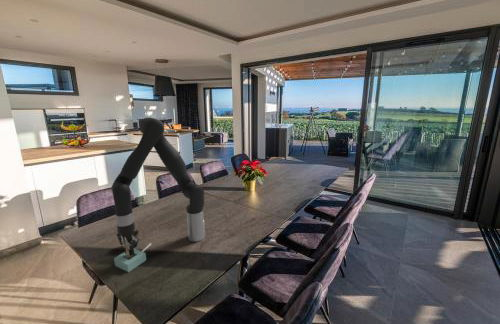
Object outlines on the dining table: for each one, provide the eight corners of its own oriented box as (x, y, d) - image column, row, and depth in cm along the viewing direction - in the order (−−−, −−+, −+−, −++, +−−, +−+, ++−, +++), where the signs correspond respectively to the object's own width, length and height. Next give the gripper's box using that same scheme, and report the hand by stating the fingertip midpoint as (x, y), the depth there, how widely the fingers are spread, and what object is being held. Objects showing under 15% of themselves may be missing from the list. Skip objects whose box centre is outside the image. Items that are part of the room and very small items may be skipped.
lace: (150, 244, 132) (150, 243, 132) (151, 244, 132) (151, 243, 132) (138, 254, 123) (138, 253, 123) (139, 255, 123) (139, 254, 123)
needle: (131, 257, 118) (127, 235, 115) (134, 258, 117) (131, 236, 114) (126, 260, 116) (123, 237, 113) (129, 261, 114) (126, 239, 111)
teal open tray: (133, 254, 123) (132, 247, 122) (146, 260, 119) (145, 253, 118) (114, 265, 114) (113, 258, 114) (128, 272, 110) (127, 264, 109)
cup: (142, 243, 133) (141, 230, 131) (133, 250, 126) (132, 237, 124) (131, 241, 135) (129, 228, 133) (122, 248, 128) (120, 235, 126)
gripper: (142, 221, 112) (146, 253, 116) (123, 215, 118) (127, 246, 122) (127, 228, 105) (132, 262, 109) (108, 222, 111) (113, 254, 115)
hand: (129, 253), depth 115 cm, fingers closed on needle, 2 cm apart
